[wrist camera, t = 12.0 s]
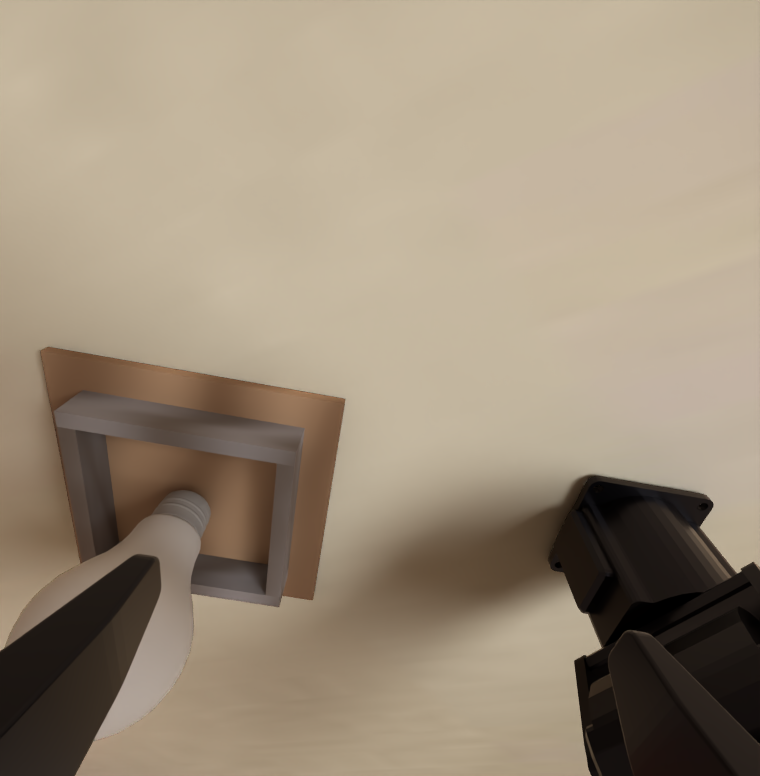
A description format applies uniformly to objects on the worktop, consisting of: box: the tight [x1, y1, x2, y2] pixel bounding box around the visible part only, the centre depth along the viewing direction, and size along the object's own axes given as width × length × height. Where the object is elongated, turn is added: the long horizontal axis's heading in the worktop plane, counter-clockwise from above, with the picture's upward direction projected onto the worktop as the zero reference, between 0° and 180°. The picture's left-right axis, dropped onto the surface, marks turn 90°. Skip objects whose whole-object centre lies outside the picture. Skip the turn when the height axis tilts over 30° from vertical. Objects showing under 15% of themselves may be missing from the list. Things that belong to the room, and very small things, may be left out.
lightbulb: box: [5, 490, 211, 741], centre depth 19 cm, size 6×6×11 cm
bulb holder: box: [40, 347, 345, 607], centre depth 23 cm, size 14×14×2 cm
